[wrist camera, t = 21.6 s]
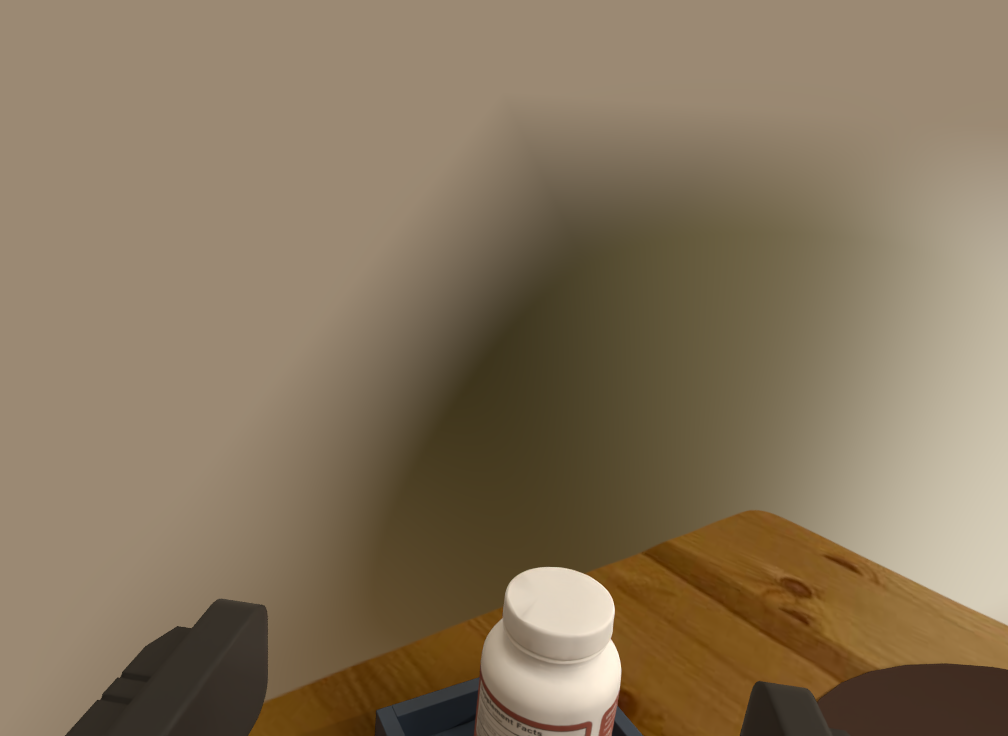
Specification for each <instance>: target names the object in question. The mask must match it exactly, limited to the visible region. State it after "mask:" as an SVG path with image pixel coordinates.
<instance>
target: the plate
mask: <svg viewBox="0 0 1008 736" xmlns="http://www.w3.org/2000/svg"><path fill="white" fill-rule="evenodd" d="M817 704H818V706H819V708H820V710H821V712H822V714H823V716H824V719H825V721H826V723H827V725H828V727H829V728H832V729H839V730H845V731H846V732H847V733H848V734H849V735H850V736H1008V670H1006V669H1000V668H995V667H985V666H972V665H959V664H920V665H903V666H898V667H892V668H887V669H881V670H876V671H871V672H868V673H865V674H863V675H860V676H858V677H855V678H853V679H850V680H848V681H845V682H843V683H841V684H839V685H838V686H837V687H835V688H834V689H833V690H831V691H830V692H829V693H827V694H826V695H825V696H823V697H822V698H821V699H819V701H818V703H817Z"/></svg>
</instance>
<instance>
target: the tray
mask: <svg viewBox="0 0 1008 736" xmlns="http://www.w3.org/2000/svg"><path fill="white" fill-rule="evenodd" d="M479 678H480V677H479ZM479 678H476V679H473V680H470V681H466V682H463V683H460V684H457V685H454V686H451V687H448V688H445V689H441V690H438V691H435V692H432V693H429V694H426V695H423V696H420V697H416V698H413V699H410V700H407V701H404V702H401V703H398V704H395V705H392V706H388V707H385V708H382V709H379V710H376V726H375V736H474V730H475V719H476V709H477V699H478V688H479ZM612 736H643V735H642V734H641V733H640V732H639V731H638V729H637V728H636V727H635V726H634V725H633V724H632V722H631V721H630V720H629V719H628V718H627V717H626V715H625V714H624V713H623V712H622V711H621V710H620V708H619V707H618V706H617V708H616V714H615V718H614V725H613V730H612Z"/></svg>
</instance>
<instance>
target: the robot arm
mask: <svg viewBox="0 0 1008 736" xmlns="http://www.w3.org/2000/svg"><path fill="white" fill-rule="evenodd" d="M267 617H268V616H267V610H266V607H265V606H264V605H260V604H253V603H246V602H240V601H233V600H227V599H218V600H216V601H215V602H214V603H213V604H212V605H211V606H210V607H209V608H208V609H207V611H206V612H205V613H204V614H203V615H202V617H201V618H200V619H199V620H198V622H197V623H196V624H195V625H194V627H192V628H186V627H179V626H177V627H175V628H174V629H172V630H171V631H169V632H167V633H166V634H164V635H163V636H161V637H159V638H158V639H156V640H155V641H153V642H152V643H150V644H148V645H147V646H145V647H144V648H143V650H142V651H141V652H140V653H139V654H138V655H137V657H135V659H134V660H133V661H132V662H131V663H130V664H129V665H128V666H127V667H126V669H125V670H124V671H123V672H122V675H121V677H120V678H117V679H116V680H115V681H114V682H113V683H112V684H111V685H110V686H109V687H108V689H107V690H106V691H105V692H104V693H103V694H102V698H101V700H97V701H96V702H95V703H94V704H93V705H92V706H91V707H90V709H89V710H88V711H87V712H86V713H85V714H84V715H83V717H81V719H80V720H79V721H78V722H77V723H76V724H75V725H74V727H72V729H71V730H70V731H69V732H68V733H67V734H66V735H65V736H248V735H249V733H250V731H251V729H252V728H253V726H254V724H255V722H256V720H257V718H258V716H259V714H260V711H261V708H262V705H263V702H264V698H265V694H266V689H267V680H268V636H267V635H268V621H267V620H268V619H267ZM740 736H850V735H849V734H848V733H847V732H846V731H845V730H839V729H832V728H829V727H828V725H827V723H826V721H825V719H824V716H823V714H822V712H821V710H820V708H819V706H818V704H817V702H816V700H815V698H814V696H813V694H812V693H811V692H810V691H809V690H808V689H806V688H801V687H795V686H788V685H781V684H775V683H768V682H761V681H758V682H756V683H755V685H754V686H753V689H752V692H751V695H750V699H749V703H748V707H747V711H746V714H745V718H744V722H743V726H742V729H741V733H740Z"/></svg>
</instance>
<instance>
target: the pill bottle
mask: <svg viewBox="0 0 1008 736" xmlns="http://www.w3.org/2000/svg"><path fill="white" fill-rule="evenodd" d="M614 613H615V608H614V603H613V599H612V597H611V595H610V594H609V592H608V591H607V590H606V589H605V588H604V587H603V586H602V585H601V584H600V583H599V582H597V581H596V580H594V579H593V578H591V577H589V576H587V575H585V574H583V573H580V572H577V571H574V570H570V569H565V568H558V567H541V568H535V569H530V570H528V571H525V572H523V573H521V574H519V575H517V576H516V577H515V578H514V579H513V580H512V581H511V582H510V584H509V585H508V587H507V590H506V594H505V601H504V608H503V619H501V620H500V621H499V622H498V623H497V624H496V625H495V626H494V627H493V629H492V630H491V631H490V633H489V634H488V636H487V638H486V640H485V643H484V646H483V651H482V659H481V666H480V678H479V688H478V699H477V709H476V719H475V730H474V736H612V730H613V725H614V718H615V714H616V708H617V702H618V696H619V690H620V681H621V664H620V659H619V655H618V652H617V650H616V647H615V645H614V644H613V642H612V640H611V636H612V632H613V620H614Z"/></svg>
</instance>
